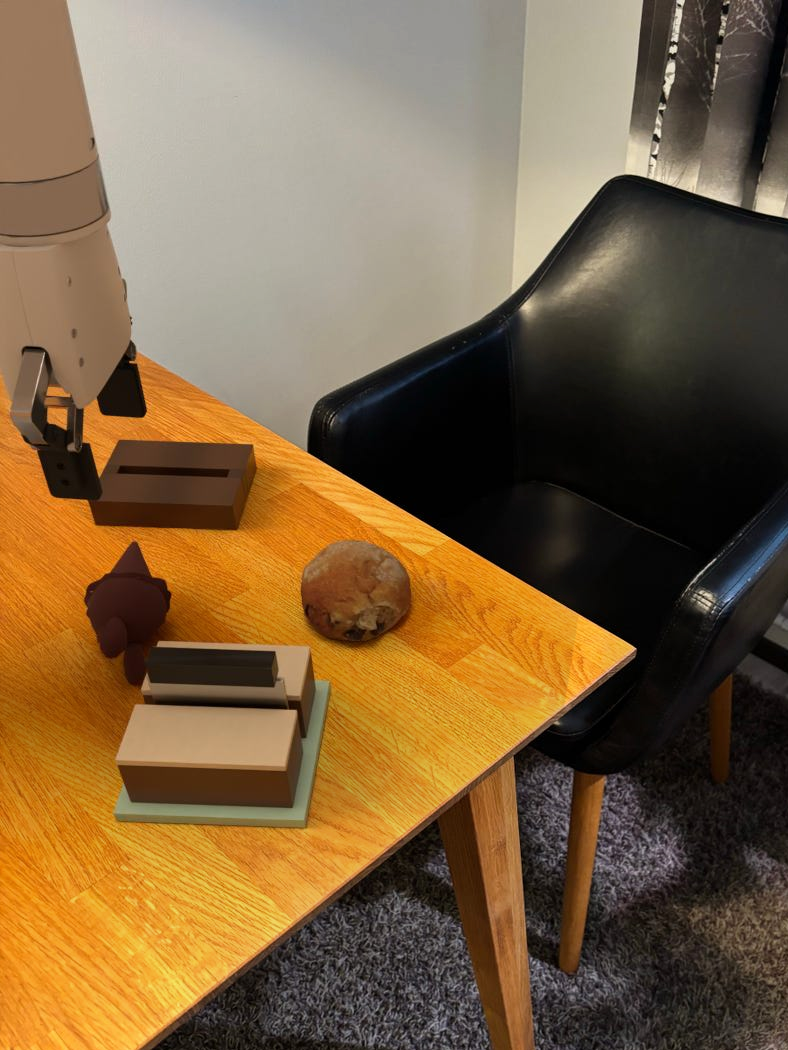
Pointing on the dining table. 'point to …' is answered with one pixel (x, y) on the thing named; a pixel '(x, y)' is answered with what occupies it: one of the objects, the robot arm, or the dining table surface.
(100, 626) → the icecream
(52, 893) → the dining table surface
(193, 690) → the beige black-topped panel
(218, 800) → the paired blocks on tray
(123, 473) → the brown slotted block
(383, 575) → the bread roll
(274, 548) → the dining table surface
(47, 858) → the dining table surface
